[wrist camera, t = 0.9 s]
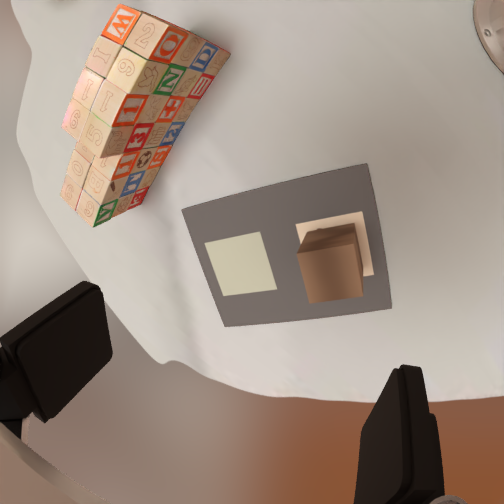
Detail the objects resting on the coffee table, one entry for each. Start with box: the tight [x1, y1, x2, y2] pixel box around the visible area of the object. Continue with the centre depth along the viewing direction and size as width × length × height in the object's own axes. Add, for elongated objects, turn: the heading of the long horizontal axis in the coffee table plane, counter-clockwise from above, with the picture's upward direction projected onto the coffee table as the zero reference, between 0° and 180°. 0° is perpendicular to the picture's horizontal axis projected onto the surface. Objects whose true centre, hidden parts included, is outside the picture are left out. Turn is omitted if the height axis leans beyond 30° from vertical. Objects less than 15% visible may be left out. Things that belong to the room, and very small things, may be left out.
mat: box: [182, 164, 392, 327], centre depth 35 cm, size 21×16×1 cm
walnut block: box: [297, 223, 363, 304], centre depth 30 cm, size 5×5×6 cm
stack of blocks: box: [60, 4, 230, 228], centre depth 28 cm, size 21×6×12 cm, turn 145°
